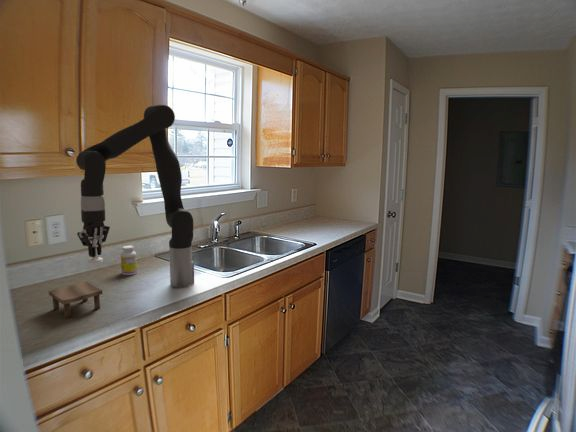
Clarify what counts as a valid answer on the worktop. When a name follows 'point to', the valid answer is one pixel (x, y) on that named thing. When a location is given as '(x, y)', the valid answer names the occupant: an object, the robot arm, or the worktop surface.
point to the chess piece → (96, 258)
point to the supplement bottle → (128, 261)
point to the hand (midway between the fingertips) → (95, 255)
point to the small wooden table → (75, 296)
